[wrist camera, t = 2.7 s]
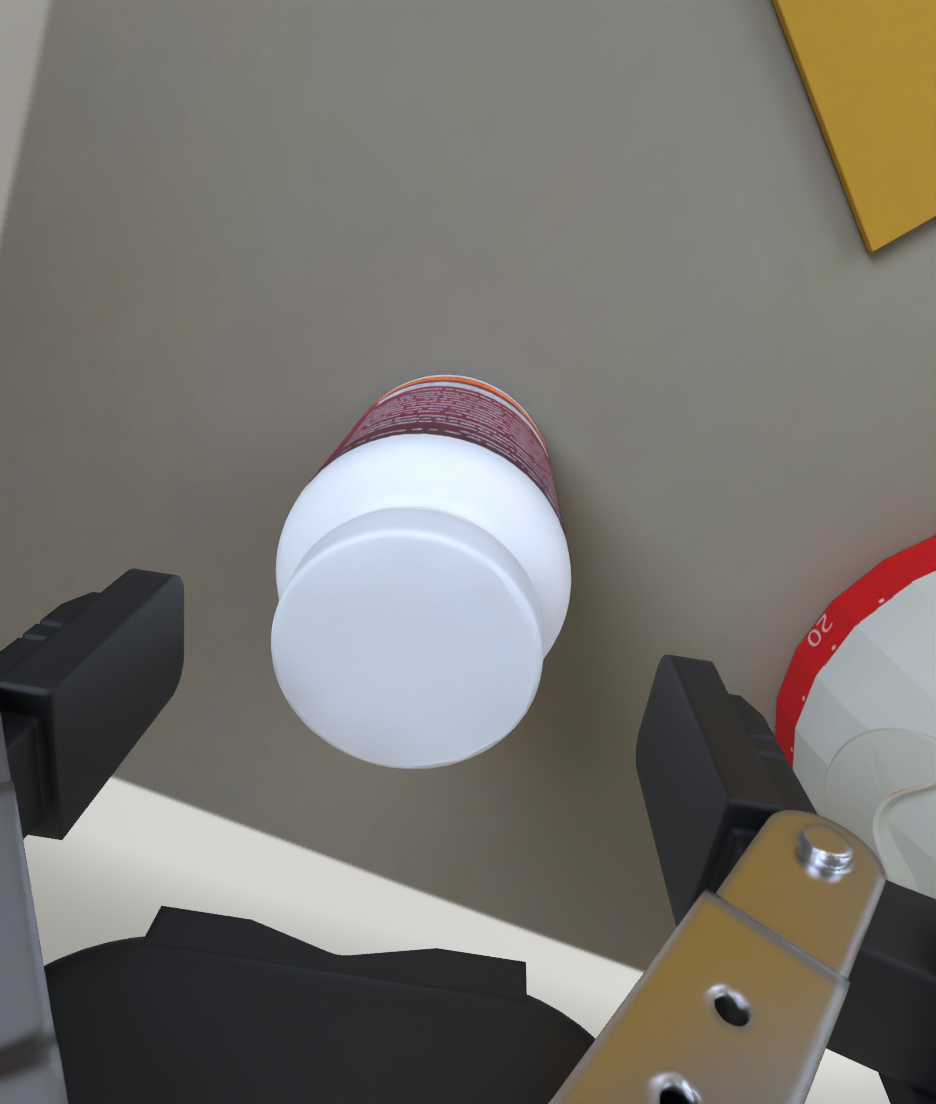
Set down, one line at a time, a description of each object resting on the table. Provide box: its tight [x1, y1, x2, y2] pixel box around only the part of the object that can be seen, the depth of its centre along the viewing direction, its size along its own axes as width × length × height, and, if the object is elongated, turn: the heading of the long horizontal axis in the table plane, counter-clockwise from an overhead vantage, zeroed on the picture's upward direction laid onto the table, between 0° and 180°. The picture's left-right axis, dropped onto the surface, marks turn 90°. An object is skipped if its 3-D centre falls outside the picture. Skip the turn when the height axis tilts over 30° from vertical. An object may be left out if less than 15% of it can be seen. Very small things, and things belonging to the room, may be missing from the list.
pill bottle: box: [271, 375, 571, 769], centre depth 17 cm, size 6×6×11 cm
